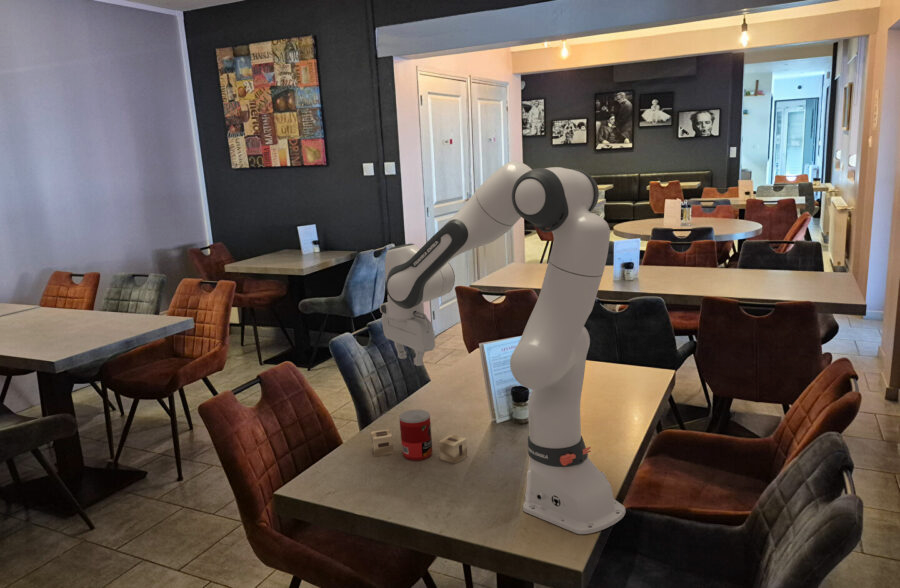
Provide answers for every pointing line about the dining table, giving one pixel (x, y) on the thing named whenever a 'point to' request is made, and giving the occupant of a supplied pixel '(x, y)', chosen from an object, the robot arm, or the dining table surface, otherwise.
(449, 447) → the marked cube near
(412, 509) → the dining table surface
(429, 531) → the dining table surface
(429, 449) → the canned food
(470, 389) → the dining table surface
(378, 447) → the marked cube far
